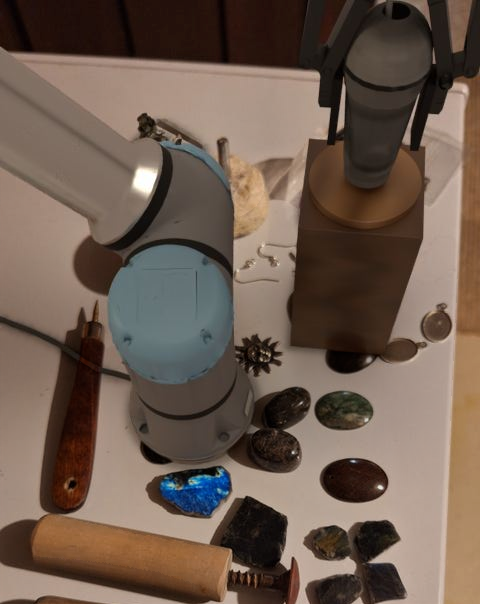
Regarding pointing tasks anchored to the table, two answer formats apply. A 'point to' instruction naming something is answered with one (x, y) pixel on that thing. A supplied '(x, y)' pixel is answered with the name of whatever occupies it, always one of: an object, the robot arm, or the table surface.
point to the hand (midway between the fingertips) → (373, 136)
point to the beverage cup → (382, 88)
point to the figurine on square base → (164, 131)
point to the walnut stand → (351, 273)
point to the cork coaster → (363, 191)
